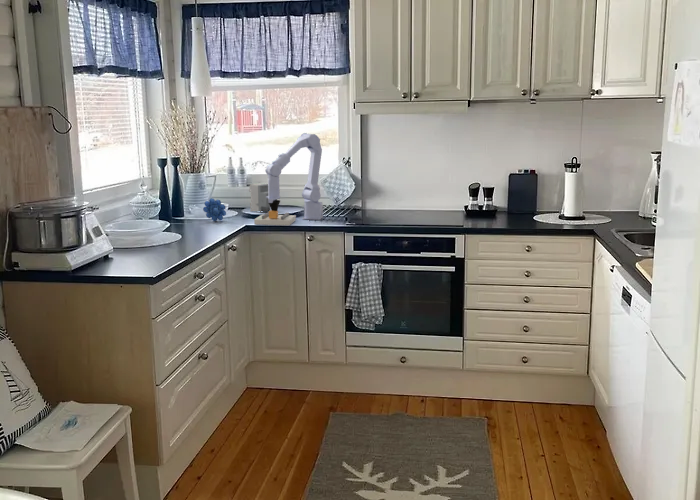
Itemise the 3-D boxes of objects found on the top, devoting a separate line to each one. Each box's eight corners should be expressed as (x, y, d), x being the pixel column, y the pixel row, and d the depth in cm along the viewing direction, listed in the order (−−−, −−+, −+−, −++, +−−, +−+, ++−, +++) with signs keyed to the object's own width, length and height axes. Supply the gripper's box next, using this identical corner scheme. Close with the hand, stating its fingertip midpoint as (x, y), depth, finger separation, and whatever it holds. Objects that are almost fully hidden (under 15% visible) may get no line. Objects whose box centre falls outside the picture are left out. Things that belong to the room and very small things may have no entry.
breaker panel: (295, 220, 372) (295, 212, 371) (289, 225, 358) (289, 217, 357) (262, 219, 374) (262, 211, 373) (254, 224, 361) (254, 216, 360)
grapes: (205, 223, 363) (203, 200, 361) (203, 221, 370) (201, 198, 367) (227, 221, 367) (226, 198, 364) (225, 219, 373) (224, 196, 370)
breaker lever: (278, 217, 363) (277, 210, 363) (276, 218, 360) (276, 211, 360) (270, 217, 364) (270, 210, 363) (268, 218, 361) (268, 211, 360)
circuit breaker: (268, 214, 388) (268, 186, 385) (250, 211, 397) (249, 184, 393) (278, 212, 394) (277, 185, 391) (259, 209, 402) (258, 182, 399)
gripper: (270, 185, 368) (270, 211, 372) (262, 190, 354) (262, 217, 358) (283, 186, 367) (283, 212, 370) (275, 190, 353) (276, 217, 357)
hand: (274, 214), depth 364 cm, fingers closed
